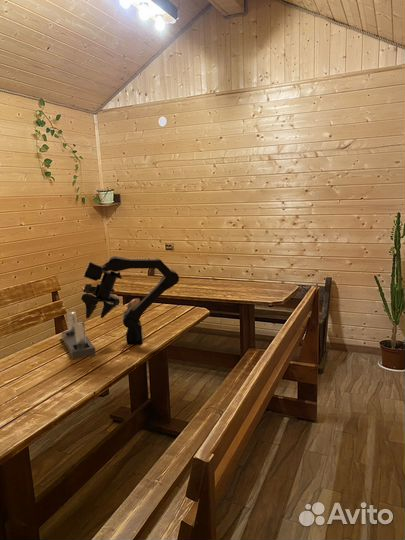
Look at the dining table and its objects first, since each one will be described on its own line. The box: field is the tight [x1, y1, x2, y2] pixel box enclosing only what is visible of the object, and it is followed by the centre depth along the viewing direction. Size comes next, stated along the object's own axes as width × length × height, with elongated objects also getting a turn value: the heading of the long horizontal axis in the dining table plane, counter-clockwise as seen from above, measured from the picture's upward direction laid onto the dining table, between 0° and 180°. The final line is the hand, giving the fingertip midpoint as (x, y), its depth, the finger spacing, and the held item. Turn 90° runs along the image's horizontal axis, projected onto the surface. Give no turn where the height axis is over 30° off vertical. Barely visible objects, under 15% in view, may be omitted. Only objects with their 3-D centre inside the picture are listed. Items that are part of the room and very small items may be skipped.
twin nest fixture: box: [61, 330, 96, 360], centre depth 171 cm, size 9×28×3 cm, turn 28°
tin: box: [126, 297, 142, 310], centre depth 215 cm, size 15×3×8 cm, turn 168°
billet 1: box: [66, 310, 78, 336], centre depth 178 cm, size 4×4×13 cm
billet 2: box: [74, 321, 87, 350], centre depth 163 cm, size 4×4×13 cm
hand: (94, 317), depth 169 cm, fingers open, 9 cm apart
